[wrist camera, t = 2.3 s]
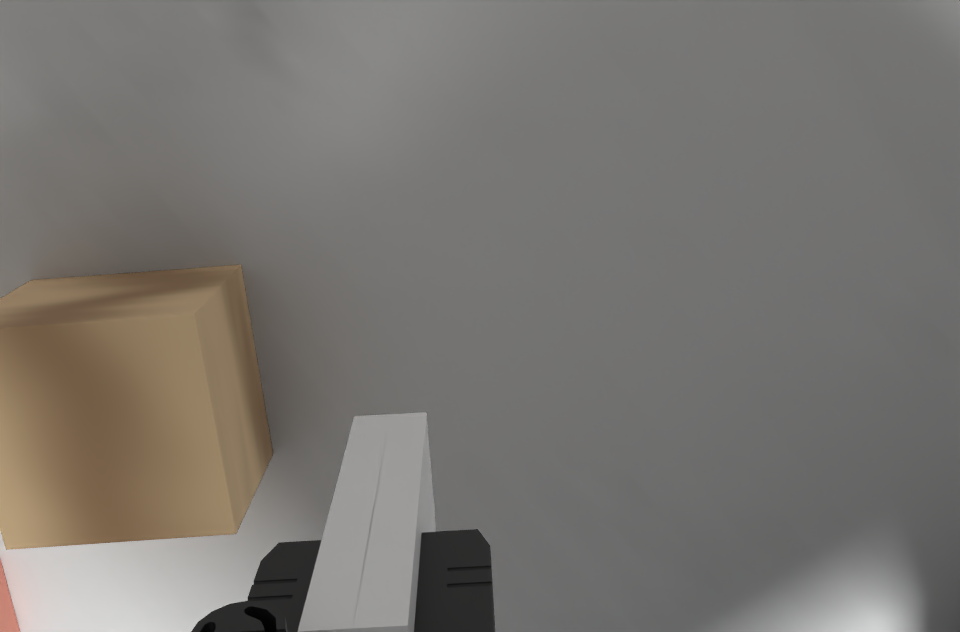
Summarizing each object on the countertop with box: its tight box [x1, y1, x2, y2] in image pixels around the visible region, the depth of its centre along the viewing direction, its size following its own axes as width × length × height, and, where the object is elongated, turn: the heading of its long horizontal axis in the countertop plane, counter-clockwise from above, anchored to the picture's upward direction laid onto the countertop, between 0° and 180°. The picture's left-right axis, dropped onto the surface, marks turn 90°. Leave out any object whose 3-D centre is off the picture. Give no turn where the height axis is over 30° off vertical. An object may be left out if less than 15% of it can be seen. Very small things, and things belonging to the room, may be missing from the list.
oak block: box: [0, 265, 273, 550], centre depth 24 cm, size 6×6×4 cm
